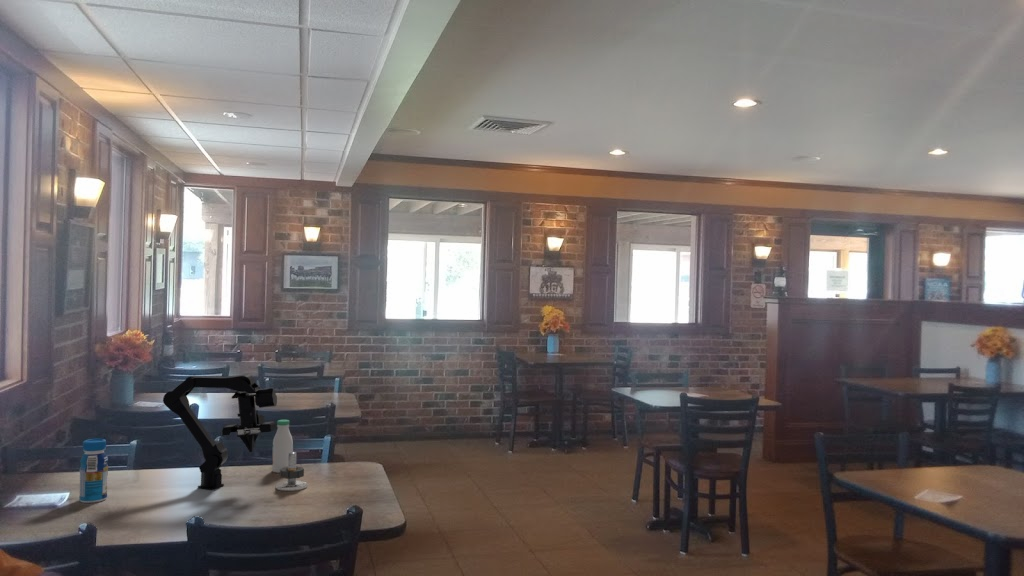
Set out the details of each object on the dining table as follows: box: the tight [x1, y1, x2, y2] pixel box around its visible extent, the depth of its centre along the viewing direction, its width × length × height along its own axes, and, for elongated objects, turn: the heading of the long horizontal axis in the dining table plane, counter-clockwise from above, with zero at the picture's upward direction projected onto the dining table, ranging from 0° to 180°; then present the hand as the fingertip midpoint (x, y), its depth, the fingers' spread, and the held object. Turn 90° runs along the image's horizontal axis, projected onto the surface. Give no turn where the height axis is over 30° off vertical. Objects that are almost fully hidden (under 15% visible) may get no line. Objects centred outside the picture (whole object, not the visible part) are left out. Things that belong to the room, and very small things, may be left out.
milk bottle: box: [271, 419, 294, 474], centre depth 293 cm, size 8×8×20 cm
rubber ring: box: [279, 465, 305, 480], centre depth 270 cm, size 8×8×2 cm
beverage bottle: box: [78, 438, 109, 504], centre depth 249 cm, size 8×8×20 cm
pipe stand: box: [275, 451, 308, 492], centre depth 270 cm, size 11×11×12 cm
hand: (251, 452), depth 269 cm, fingers closed
